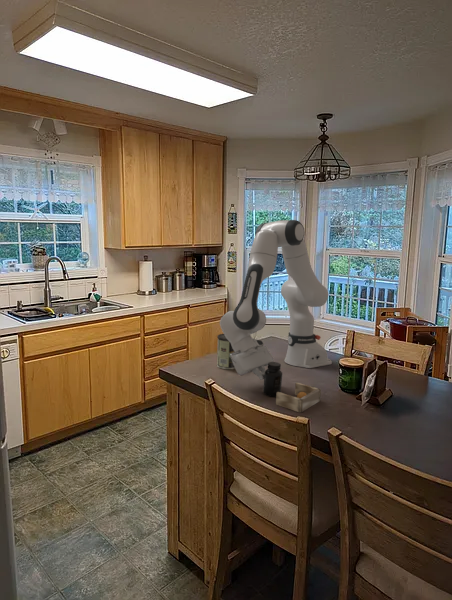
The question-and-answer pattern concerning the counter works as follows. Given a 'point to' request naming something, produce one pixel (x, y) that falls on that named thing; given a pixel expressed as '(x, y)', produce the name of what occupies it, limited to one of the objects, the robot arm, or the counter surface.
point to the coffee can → (224, 353)
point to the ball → (301, 394)
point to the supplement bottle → (272, 379)
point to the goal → (299, 403)
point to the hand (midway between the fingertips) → (264, 378)
